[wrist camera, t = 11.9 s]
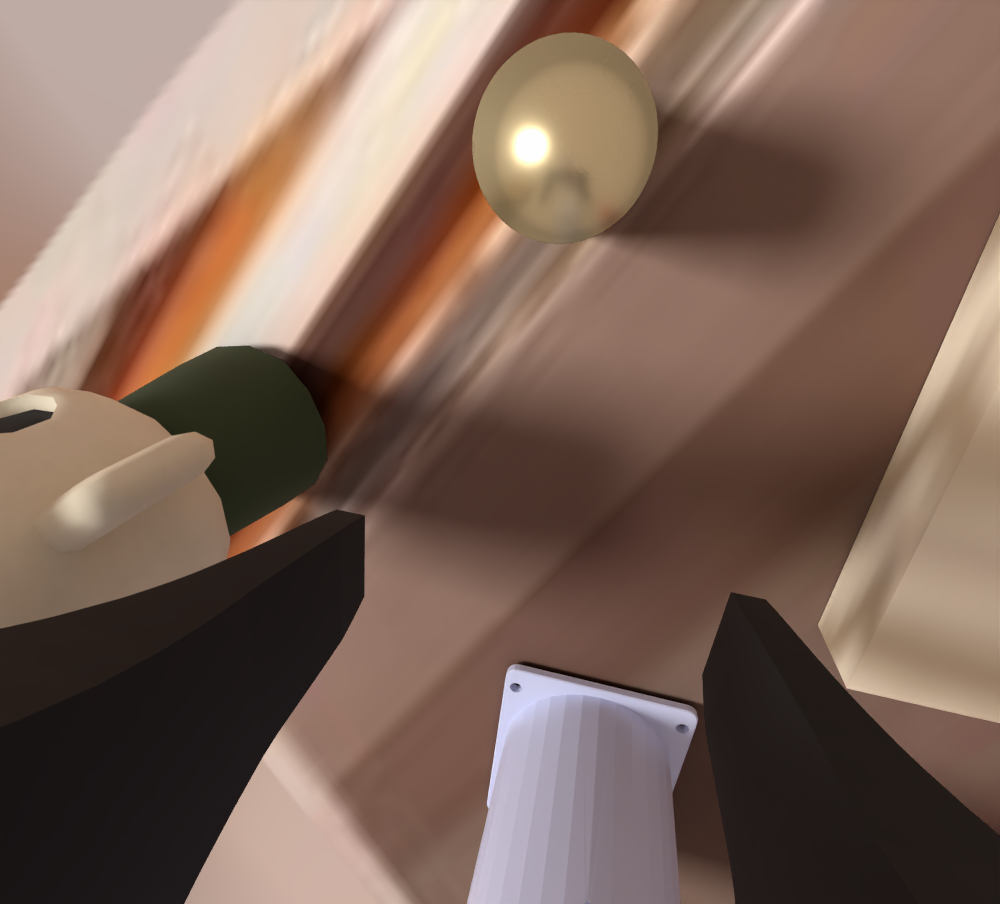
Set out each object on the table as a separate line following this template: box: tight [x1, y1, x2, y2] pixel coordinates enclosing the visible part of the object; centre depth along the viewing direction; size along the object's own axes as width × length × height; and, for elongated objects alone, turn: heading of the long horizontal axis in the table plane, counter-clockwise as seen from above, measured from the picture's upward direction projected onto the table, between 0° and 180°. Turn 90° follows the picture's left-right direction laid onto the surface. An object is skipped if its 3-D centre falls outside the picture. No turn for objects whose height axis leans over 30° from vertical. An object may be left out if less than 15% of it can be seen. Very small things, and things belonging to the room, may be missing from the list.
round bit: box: [472, 33, 658, 244], centre depth 14 cm, size 4×4×6 cm
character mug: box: [0, 346, 327, 628], centre depth 16 cm, size 11×7×13 cm, turn 121°
